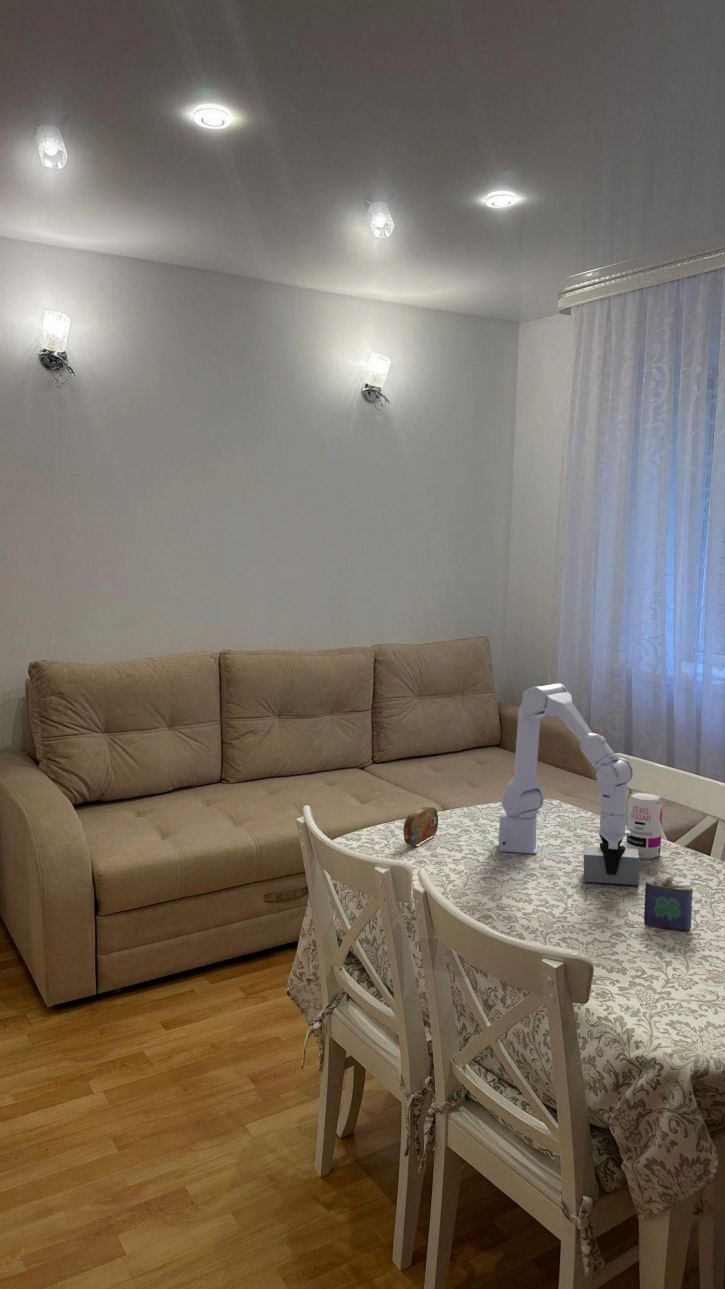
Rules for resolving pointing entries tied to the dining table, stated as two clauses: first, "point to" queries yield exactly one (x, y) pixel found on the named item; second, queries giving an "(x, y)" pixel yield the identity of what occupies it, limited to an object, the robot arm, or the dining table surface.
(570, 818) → the dining table surface
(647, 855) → the supplement can
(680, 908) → the flask
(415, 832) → the tin
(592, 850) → the grey rectangular prism
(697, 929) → the dining table surface
